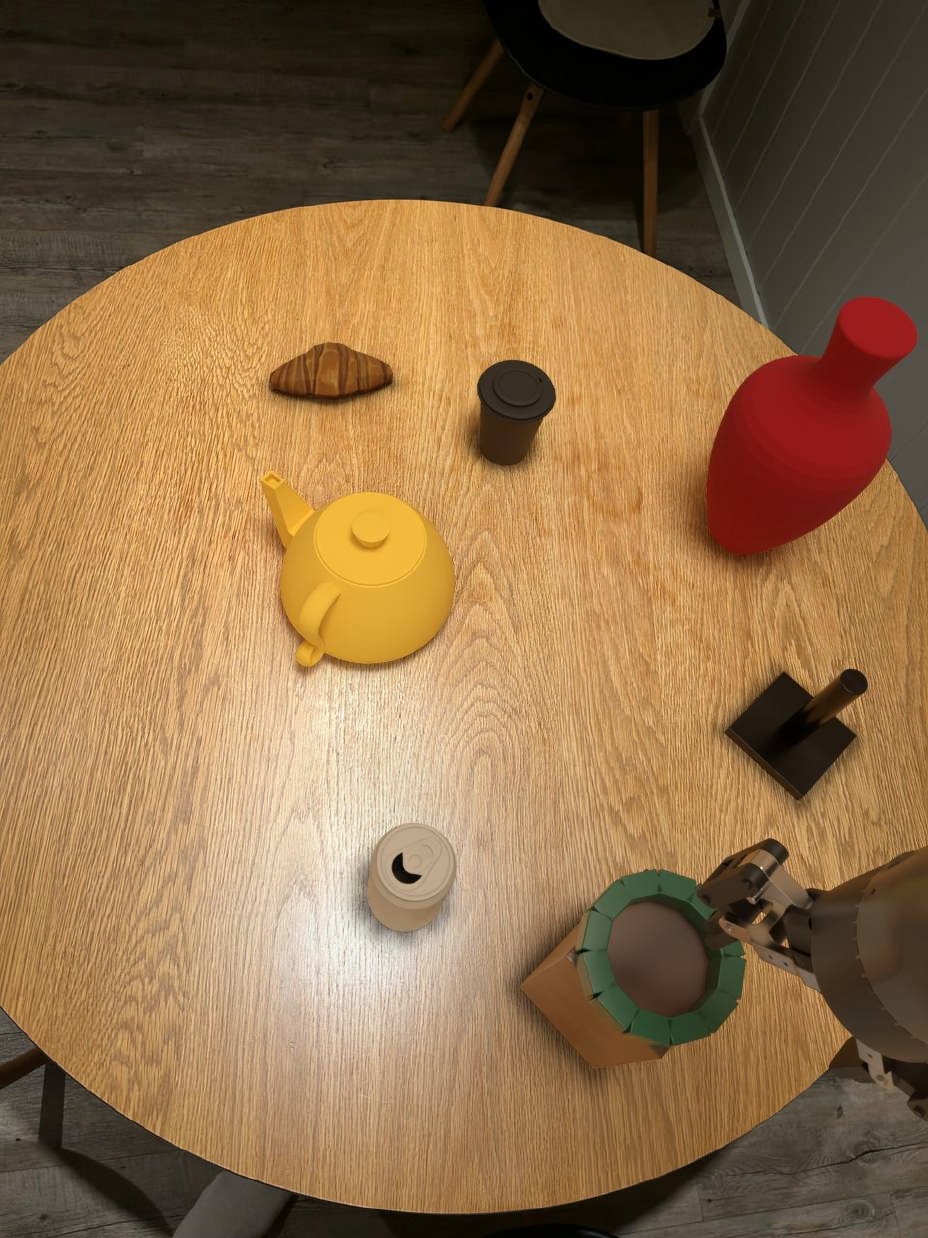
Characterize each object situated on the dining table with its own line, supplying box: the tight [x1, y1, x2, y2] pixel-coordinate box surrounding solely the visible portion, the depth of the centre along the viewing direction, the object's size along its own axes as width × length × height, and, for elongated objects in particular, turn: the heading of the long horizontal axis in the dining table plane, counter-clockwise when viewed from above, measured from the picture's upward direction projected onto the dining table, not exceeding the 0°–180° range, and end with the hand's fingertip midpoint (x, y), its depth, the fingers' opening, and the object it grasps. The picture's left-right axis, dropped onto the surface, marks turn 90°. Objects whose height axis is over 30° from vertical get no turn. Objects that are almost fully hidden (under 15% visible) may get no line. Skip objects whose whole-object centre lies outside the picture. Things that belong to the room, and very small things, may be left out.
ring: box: [574, 868, 747, 1048], centre depth 60 cm, size 10×10×2 cm
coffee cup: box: [476, 359, 557, 467], centre depth 98 cm, size 8×8×10 cm
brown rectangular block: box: [518, 868, 709, 1070], centre depth 69 cm, size 8×8×18 cm
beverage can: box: [366, 822, 458, 933], centre depth 74 cm, size 6×6×12 cm
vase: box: [705, 296, 918, 556], centre depth 87 cm, size 15×15×30 cm
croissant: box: [268, 341, 394, 400], centre depth 101 cm, size 14×7×5 cm, turn 101°
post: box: [724, 668, 869, 801], centre depth 84 cm, size 9×9×13 cm
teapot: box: [259, 469, 456, 668], centre depth 86 cm, size 20×19×13 cm
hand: (779, 994), depth 50 cm, fingers open, 8 cm apart
